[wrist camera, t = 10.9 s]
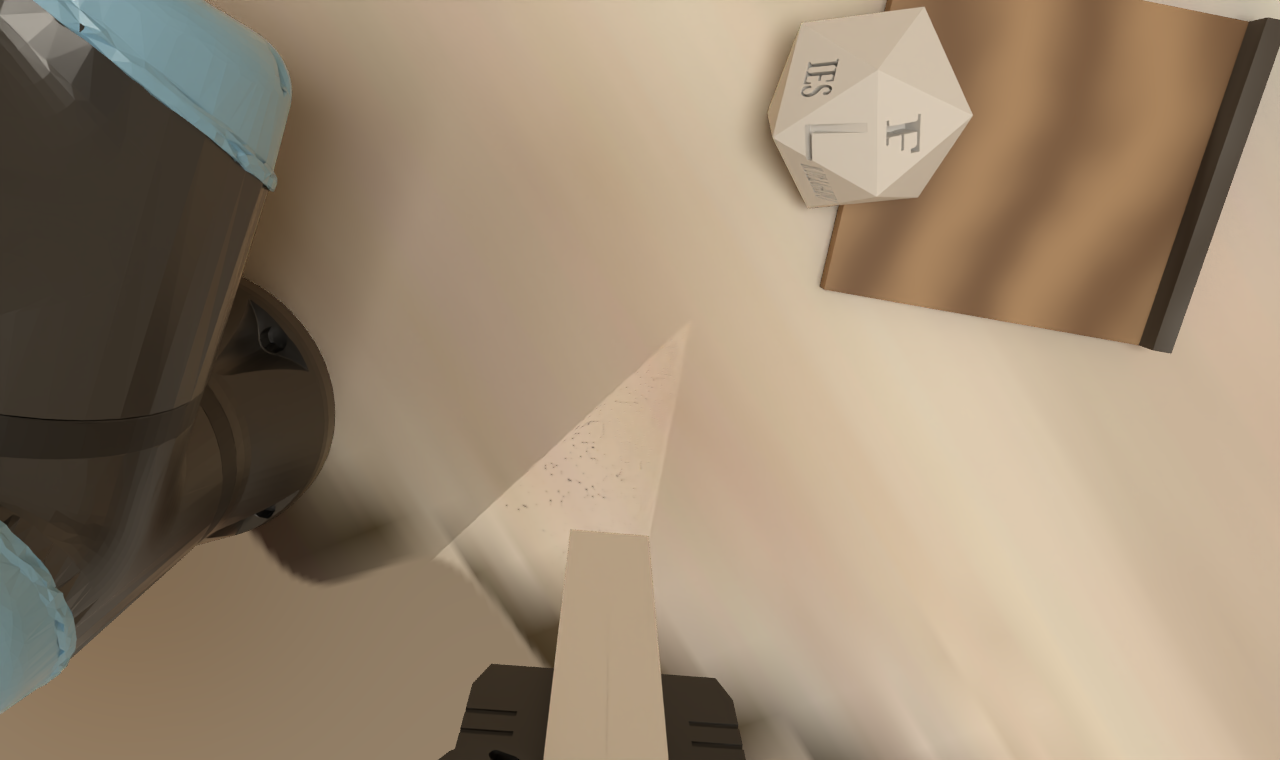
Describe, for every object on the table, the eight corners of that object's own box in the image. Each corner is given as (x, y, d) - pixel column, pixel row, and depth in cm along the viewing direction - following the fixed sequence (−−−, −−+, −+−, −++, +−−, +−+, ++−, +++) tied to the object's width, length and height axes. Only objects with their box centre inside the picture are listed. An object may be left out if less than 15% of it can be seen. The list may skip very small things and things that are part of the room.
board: (819, 286, 43) (829, 293, 41) (897, -43, 39) (912, -55, 37) (1145, 344, 44) (1171, 353, 42) (1253, 29, 40) (1288, 21, 38)
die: (711, 37, 36) (941, 26, 30) (805, 5, 42) (1012, -9, 36) (726, 223, 40) (931, 245, 34) (810, 171, 46) (996, 182, 40)
